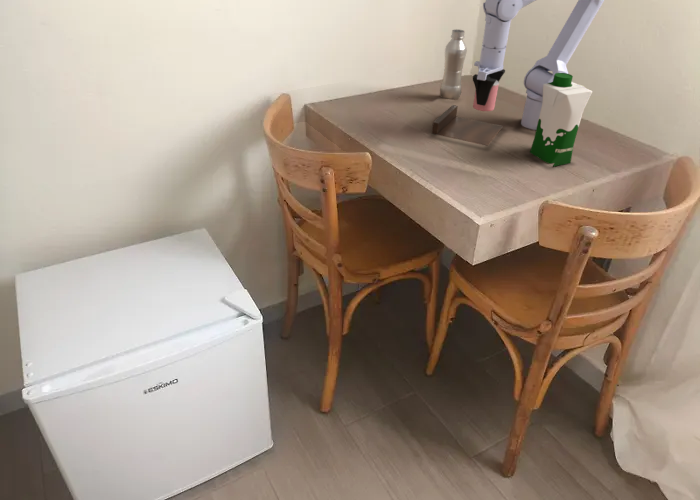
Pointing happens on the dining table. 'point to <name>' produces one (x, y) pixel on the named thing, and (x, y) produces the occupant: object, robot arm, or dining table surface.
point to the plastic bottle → (453, 66)
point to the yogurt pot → (490, 101)
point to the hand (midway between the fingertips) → (484, 101)
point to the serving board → (464, 128)
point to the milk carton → (559, 119)
